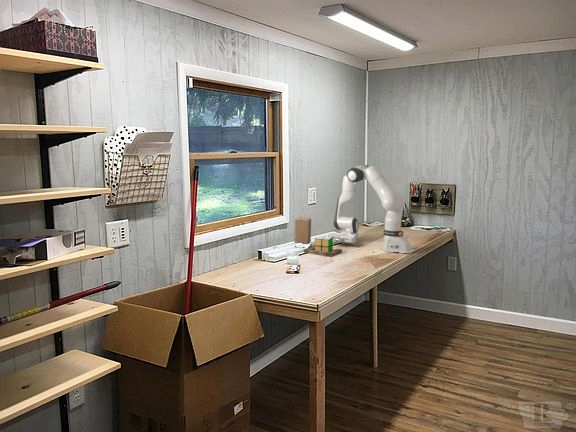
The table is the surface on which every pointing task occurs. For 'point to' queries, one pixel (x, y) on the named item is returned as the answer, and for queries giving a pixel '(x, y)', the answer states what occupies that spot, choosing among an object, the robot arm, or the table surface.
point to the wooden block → (303, 230)
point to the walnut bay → (329, 254)
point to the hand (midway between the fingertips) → (336, 240)
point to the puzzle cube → (324, 244)
